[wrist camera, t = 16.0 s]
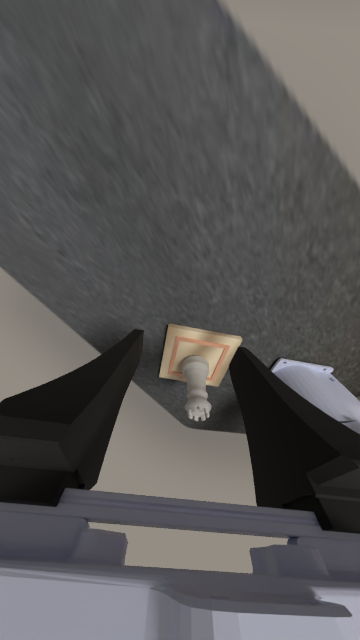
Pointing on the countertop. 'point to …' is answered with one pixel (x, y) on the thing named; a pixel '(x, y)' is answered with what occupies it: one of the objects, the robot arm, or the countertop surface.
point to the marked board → (197, 351)
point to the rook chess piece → (196, 387)
